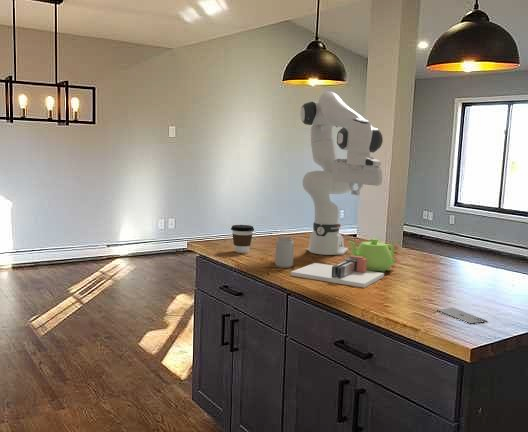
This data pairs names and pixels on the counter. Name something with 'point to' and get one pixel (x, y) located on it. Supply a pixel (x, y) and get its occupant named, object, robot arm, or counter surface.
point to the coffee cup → (242, 237)
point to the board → (325, 274)
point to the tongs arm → (334, 268)
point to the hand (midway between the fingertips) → (355, 194)
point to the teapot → (374, 254)
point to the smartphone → (462, 315)
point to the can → (284, 252)
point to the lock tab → (360, 263)
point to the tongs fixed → (347, 267)
